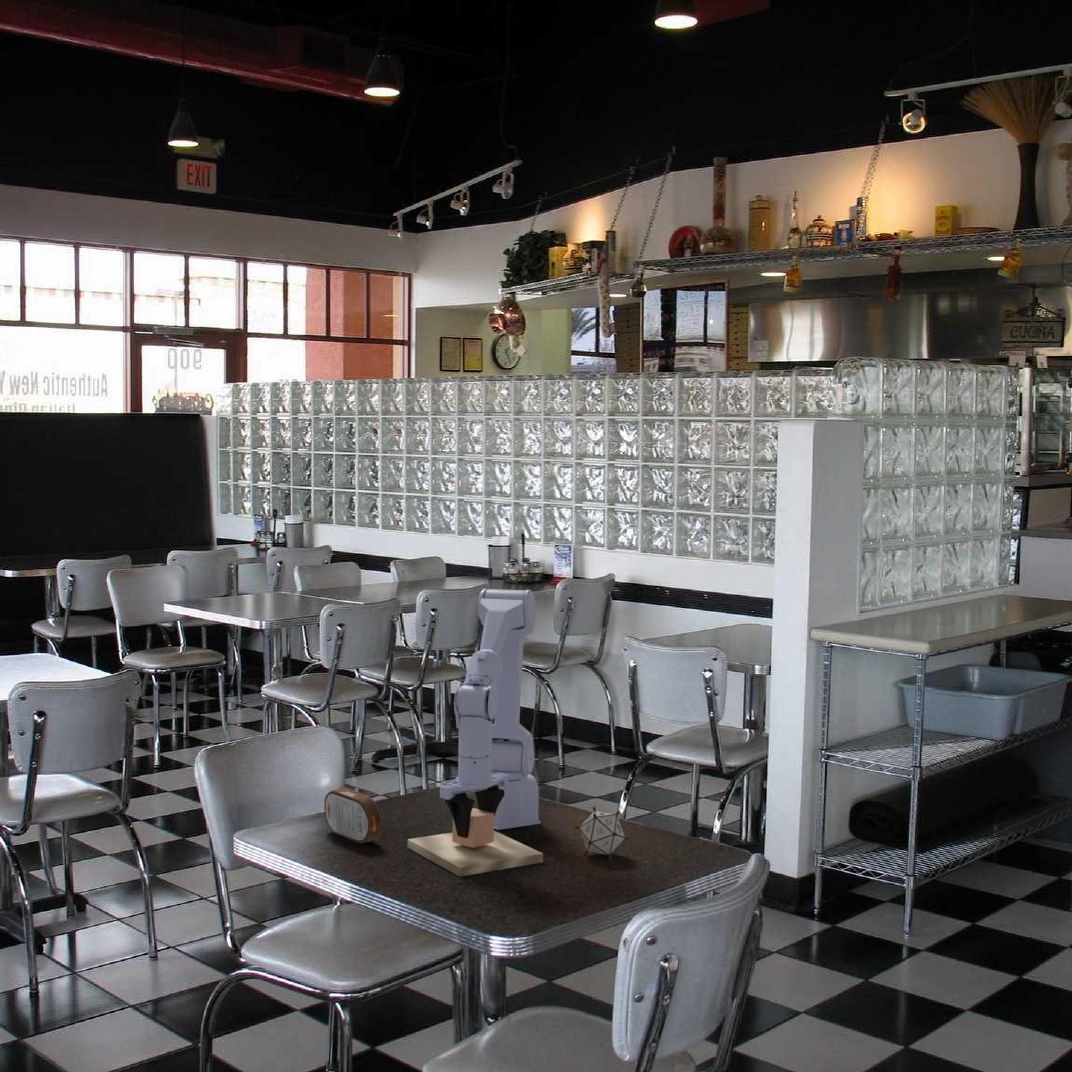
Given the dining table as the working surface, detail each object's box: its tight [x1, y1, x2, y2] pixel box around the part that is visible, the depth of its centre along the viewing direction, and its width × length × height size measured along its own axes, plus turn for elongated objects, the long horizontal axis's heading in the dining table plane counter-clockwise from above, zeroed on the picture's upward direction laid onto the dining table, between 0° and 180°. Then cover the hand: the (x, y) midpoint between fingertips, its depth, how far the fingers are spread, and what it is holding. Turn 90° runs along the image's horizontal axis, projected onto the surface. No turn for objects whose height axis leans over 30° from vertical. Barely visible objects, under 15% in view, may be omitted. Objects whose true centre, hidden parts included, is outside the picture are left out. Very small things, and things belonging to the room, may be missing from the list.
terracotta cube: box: [452, 807, 495, 848], centre depth 225 cm, size 5×5×5 cm
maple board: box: [407, 830, 544, 878], centre depth 225 cm, size 16×19×2 cm
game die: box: [573, 805, 631, 861], centre depth 225 cm, size 9×8×10 cm
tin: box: [323, 786, 382, 845], centre depth 234 cm, size 15×3×8 cm, turn 42°
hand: (474, 833), depth 224 cm, fingers closed on terracotta cube, 5 cm apart
